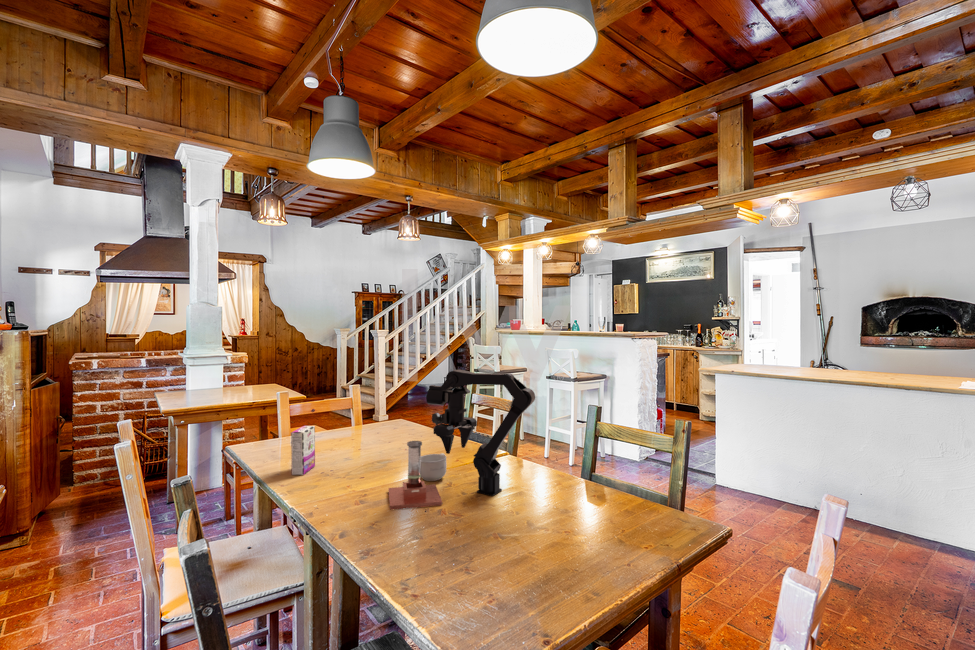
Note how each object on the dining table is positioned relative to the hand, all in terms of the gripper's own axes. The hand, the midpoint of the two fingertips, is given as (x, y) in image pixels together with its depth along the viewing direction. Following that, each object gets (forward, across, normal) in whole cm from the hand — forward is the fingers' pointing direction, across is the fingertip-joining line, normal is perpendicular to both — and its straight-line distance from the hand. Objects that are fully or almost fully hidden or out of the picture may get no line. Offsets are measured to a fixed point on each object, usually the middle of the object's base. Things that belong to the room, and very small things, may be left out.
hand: (455, 450), depth 158 cm
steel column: (+8, +15, -6) cm, 18 cm away
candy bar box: (+13, +16, -61) cm, 64 cm away
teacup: (+13, -5, -13) cm, 19 cm away
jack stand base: (+13, +15, -6) cm, 21 cm away
